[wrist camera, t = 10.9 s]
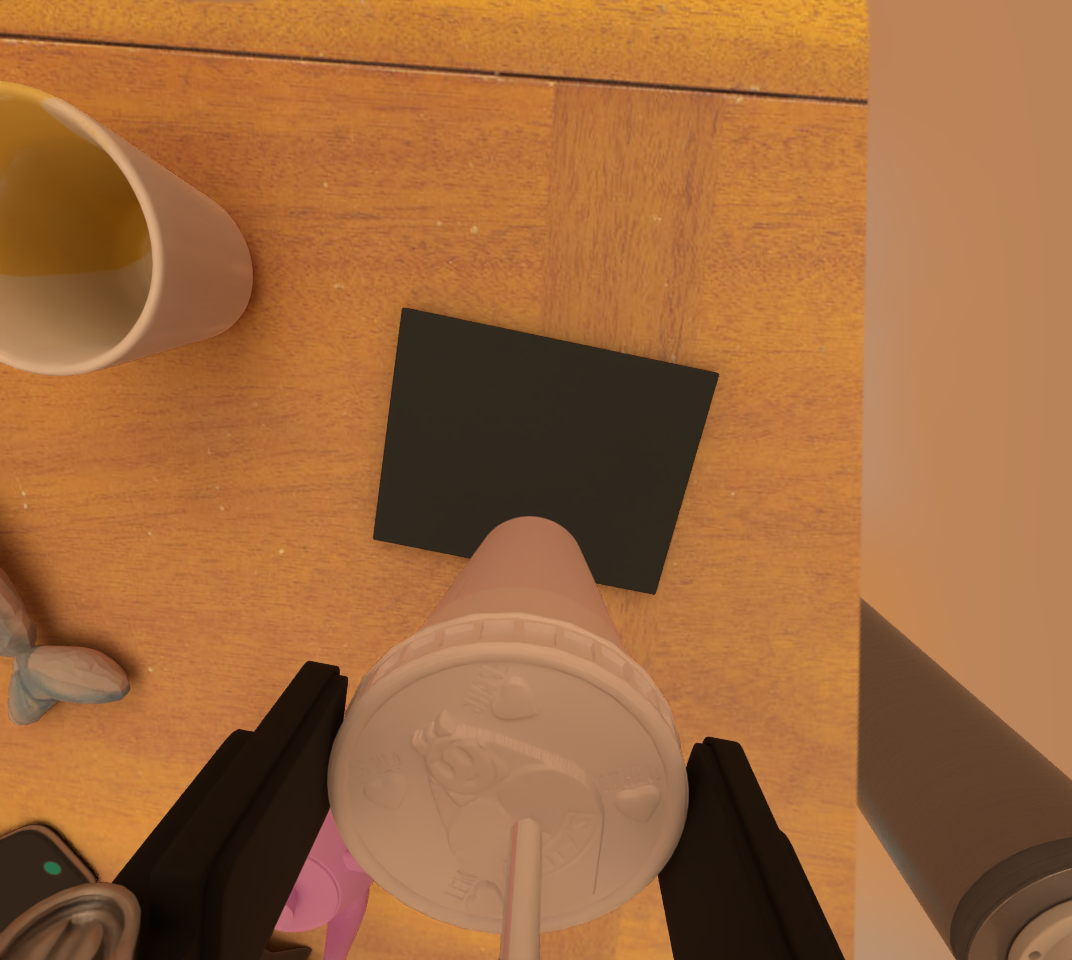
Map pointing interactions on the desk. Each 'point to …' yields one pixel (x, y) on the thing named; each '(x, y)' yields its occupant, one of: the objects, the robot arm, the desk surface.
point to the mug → (103, 246)
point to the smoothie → (511, 752)
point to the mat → (537, 444)
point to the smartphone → (36, 869)
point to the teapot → (328, 893)
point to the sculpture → (50, 666)
